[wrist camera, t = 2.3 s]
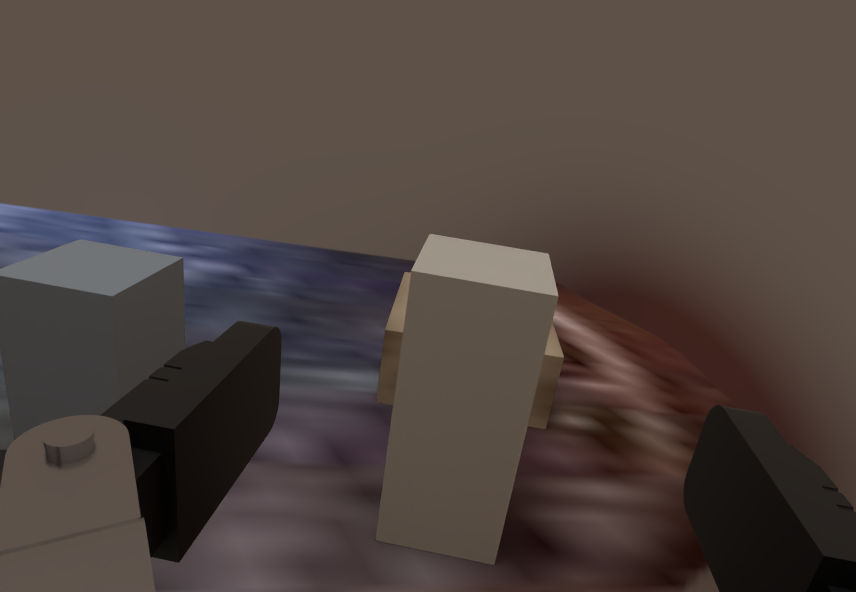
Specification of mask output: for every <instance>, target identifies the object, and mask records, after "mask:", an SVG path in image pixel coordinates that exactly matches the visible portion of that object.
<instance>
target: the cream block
mask: <svg viewBox="0 0 856 592" xmlns="http://www.w3.org/2000/svg"><path fill="white" fill-rule="evenodd" d="M557 300H558V293H557V288H556V284H555V280H554V275H553V271H552V267H551V263H550V258H549V254H547V253H540V252H535V251H529V250H522V249H517V248H511V247H505V246H499V245H493V244H487V243H481V242H475V241H469V240H464V239H458V238H452V237H445V236H440V235H434V234H430V235H429V237H428V239H427V241H426V243H425V245H424V247H423V248H422V251H421V252H420V254H419V256H418V258H417V260H416V262H415V264H414V266H413V268H412V270H411V276H410V284H409V291H408V299H407V306H406V314H405V322H404V329H403V337H402V344H401V352H400V359H399V367H398V374H397V382H396V389H395V397H394V404H393V412H392V419H391V427H390V434H389V442H388V449H387V457H386V464H385V472H384V479H383V487H382V494H381V502H380V509H379V517H378V525H377V532H376V541H381V542H385V543H390V544H395V545H400V546H405V547H409V548H414V549H419V550H424V551H428V552H433V553H438V554H443V555H448V556H452V557H457V558H462V559H467V560H472V561H476V562H481V563H486V564H491V565H494V564H495V560H496V556H497V552H498V547H499V543H500V539H501V535H502V531H503V526H504V522H505V518H506V514H507V510H508V505H509V501H510V497H511V493H512V489H513V484H514V480H515V476H516V472H517V468H518V463H519V459H520V455H521V451H522V447H523V442H524V438H525V434H526V430H527V426H528V421H529V417H530V413H531V409H532V405H533V400H534V396H535V392H536V388H537V384H538V379H539V375H540V371H541V367H542V363H543V358H544V354H545V350H546V346H547V342H548V337H549V333H550V329H551V325H552V321H553V316H554V312H555V308H556V304H557Z"/></svg>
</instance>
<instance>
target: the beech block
mask: <svg viewBox="0 0 856 592" xmlns="http://www.w3.org/2000/svg"><path fill="white" fill-rule="evenodd" d="M410 276H411V273H408V272H405V273H404V276H403V279H402V282H401V285H400V288H399V291H398V294H397V297H396V299H395V302H394V305H393V308H392V311H391V314H390V317H389V320H388V323H387V326H386V329H385V336H384V344H383V352H382V360H381V369H380V377H379V385H378V393H377V403H383V404H390V405H393V404H394V397H395V389H396V382H397V374H398V367H399V359H400V352H401V344H402V337H403V329H404V322H405V314H406V306H407V299H408V291H409V284H410ZM563 359H564V356H563V353H562V350H561V347H560V344H559V341H558V338H557V335H556V332H555V329H554V326H553V323H552V325H551V329H550V333H549V337H548V342H547V346H546V350H545V354H544V358H543V363H542V367H541V371H540V375H539V379H538V384H537V388H536V392H535V396H534V400H533V405H532V409H531V413H530V417H529V421H528V426H529V427H536V428H542V429H546V426H547V422H548V418H549V414H550V411H551V407H552V403H553V399H554V395H555V391H556V387H557V383H558V379H559V375H560V371H561V367H562V363H563Z"/></svg>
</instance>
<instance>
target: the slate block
mask: <svg viewBox="0 0 856 592" xmlns="http://www.w3.org/2000/svg"><path fill="white" fill-rule="evenodd" d="M184 349H185V315H184V272H183V257H177V256H171V255H166V254H160V253H154V252H149V251H143V250H137V249H132V248H126V247H120V246H115V245H109V244H103V243H98V242H92V241H86V240H81V239H79V240H77V241H74V242H71V243H69V244H66V245H63V246H61V247H58V248H55V249H52V250H50V251H47V252H44V253H42V254H39V255H36V256H34V257H31V258H28V259H26V260H23V261H20V262H18V263H15V264H12V265H9V266H7V267H4V268H1V269H0V352H1V358H2V364H3V371H4V377H5V384H6V390H7V396H8V403H9V409H10V415H11V422H12V428H13V434H14V440H15V439H16V438H18V437H19V436H20V435H22V434H23V433H25V432H26V431H28V430H30V429H32V428H34V427H36V426H38V425H40V424H43V423H46V422H49V421H52V420H56V419H59V418H64V417H69V416H78V415H99V416H100V415H101V414H102V413H104V412H105V411H106V410H107V409H109V408H110V407H111V406H112V405H114V404H115V403H116V402H117V401H119V400H120V399H121V398H122V397H124V396H125V395H126V394H127V393H129V392H130V391H131V390H132V389H134V388H135V387H136V386H137V385H139V384H140V383H141V382H142V381H144V380H145V379H147V380H148V379H149V376H150V375H151V374H152V373H154V372H155V371H156V370H157V369H159V368H160V367H162V368H163V366H164V364H165V363H166V362H167V361H169V360H170V359H171V358H172V357H174V356H175V355H176V354H177V353H179V352H180V351H181V350H184Z"/></svg>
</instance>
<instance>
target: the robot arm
mask: <svg viewBox="0 0 856 592" xmlns="http://www.w3.org/2000/svg"><path fill="white" fill-rule="evenodd" d="M280 365H281V332H280V330H279V328H277V327H272V326H267V325H261V324H255V323H249V322H244V321H238V322H236V323H235V324H234V325H232V326H231V327H230V328H229V329H228V330H227V331H226V332H224V333H223V334H222V335H221V336H220V337H219V338H217V339H216V340H215V341H214V342H211V341H204V342H202V343H199V344H196V345H194V346H191V347H189V348H186V349H184V350H181V351H180V352H179V353H177V354H176V355H175V356H174V357H172V358H171V359H170V360H169V361H167V362H166V363H165V364H164V366H163V368H162V367H160V368H159V369H157V370H156V371H155V372H154V373H152V374H151V375H150V376H149V379H148V380H147V379H145V380H144V381H142V382H141V383H140V384H139V385H137V386H136V387H135V388H134V389H132V390H131V391H130V392H129V393H127V394H126V395H125V396H124V397H122V398H121V399H120V400H119V401H117V402H116V403H115V404H114V405H112V406H111V407H110V408H109V409H107V410H106V411H105V412H104V413H102V414H101V415H100V416H99V415H78V416H69V417H64V418H59V419H56V420H52V421H49V422H46V423H43V424H40V425H38V426H36V427H34V428H32V429H30V430H28V431H26V432H25V433H23V434H22V435H20V436H19V437H18V438H16V439H15V440H14V441H13V442H12V444H11V445H10V446H9V448H8V449H7V450H0V592H155V586H154V579H153V573H152V566H151V559H150V558H151V557H154V558H159V559H164V560H168V561H173V562H178V563H179V562H180V560H181V559H182V558H183V556H184V555H185V553H186V552H187V550H188V549H189V548H190V546H191V545H192V543H193V542H194V540H195V539H196V537H197V536H198V535H199V533H200V532H201V530H202V529H203V527H204V526H205V524H206V523H207V522H208V520H209V519H210V517H211V516H212V514H213V513H214V511H215V510H216V509H217V507H218V506H219V504H220V503H221V501H222V500H223V499H224V497H225V496H226V494H227V493H228V491H229V490H230V488H231V487H232V486H233V484H234V483H235V481H236V480H237V478H238V477H239V475H240V474H241V473H242V471H243V470H244V468H245V467H246V465H247V464H248V462H249V461H250V460H251V458H252V457H253V455H254V454H255V452H256V451H257V450H258V448H259V447H260V445H261V444H262V442H263V441H264V439H265V438H266V437H267V435H268V434H269V432H270V430H271V428H272V426H273V424H274V421H275V418H276V415H277V411H278V405H279V390H280ZM684 506H685V510H686V513H687V516H688V518H689V521H690V523H691V525H692V528H693V530H694V532H695V535H696V537H697V539H698V542H699V544H700V547H701V549H702V551H703V554H704V556H705V558H706V561H707V563H708V566H709V568H710V570H711V573H712V575H713V577H714V580H715V582H716V584H717V587H718V589H719V592H856V512H854V511H853V506H852V505H851V504H850V503H849V501H848V500H847V499H846V498H845V496H844V495H843V494H842V493H838V488H837V487H836V486H835V484H834V483H833V482H832V481H831V480H830V478H829V477H828V476H827V475H826V474H825V472H824V471H823V470H822V469H821V467H820V466H818V465H817V464H815V463H814V462H813V461H811V460H810V459H809V458H807V457H806V456H805V455H803V454H802V453H801V452H799V451H798V450H797V449H795V448H794V447H793V446H789V444H788V443H787V442H786V441H785V439H784V438H783V437H782V436H781V434H780V433H779V432H778V431H777V429H776V428H775V427H774V426H773V425H772V423H771V422H770V421H769V419H768V418H767V417H766V416H765V415H764V414H763V413H760V412H754V411H748V410H743V409H737V408H731V407H726V406H720V405H716V406H714V407H713V408H712V409H711V410H710V411H709V413H708V415H707V418H706V420H705V423H704V426H703V429H702V432H701V434H700V437H699V440H698V443H697V446H696V449H695V452H694V454H693V457H692V460H691V463H690V466H689V469H688V472H687V474H686V478H685V482H684Z"/></svg>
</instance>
